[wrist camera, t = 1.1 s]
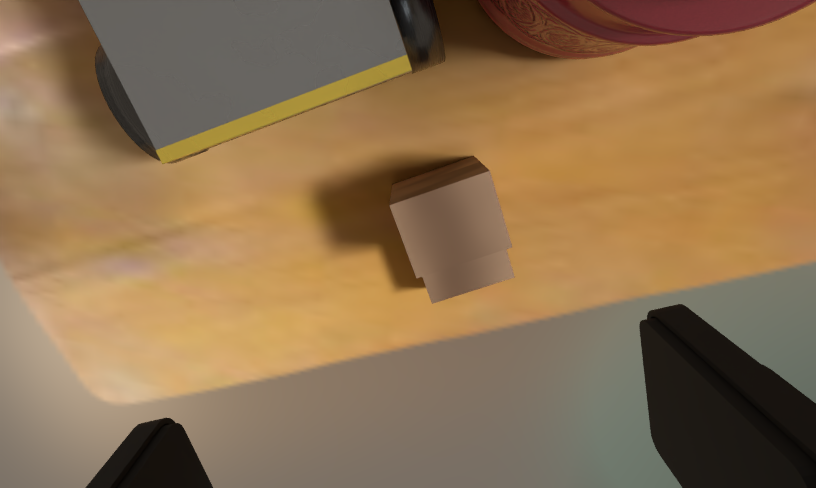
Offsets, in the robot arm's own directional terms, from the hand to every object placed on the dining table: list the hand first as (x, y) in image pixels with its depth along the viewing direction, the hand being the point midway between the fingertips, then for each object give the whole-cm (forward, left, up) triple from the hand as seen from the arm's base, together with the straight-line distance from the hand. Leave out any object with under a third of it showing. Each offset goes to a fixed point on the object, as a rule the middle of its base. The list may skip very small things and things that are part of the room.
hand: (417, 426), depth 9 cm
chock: (-2, +2, -19) cm, 20 cm away
